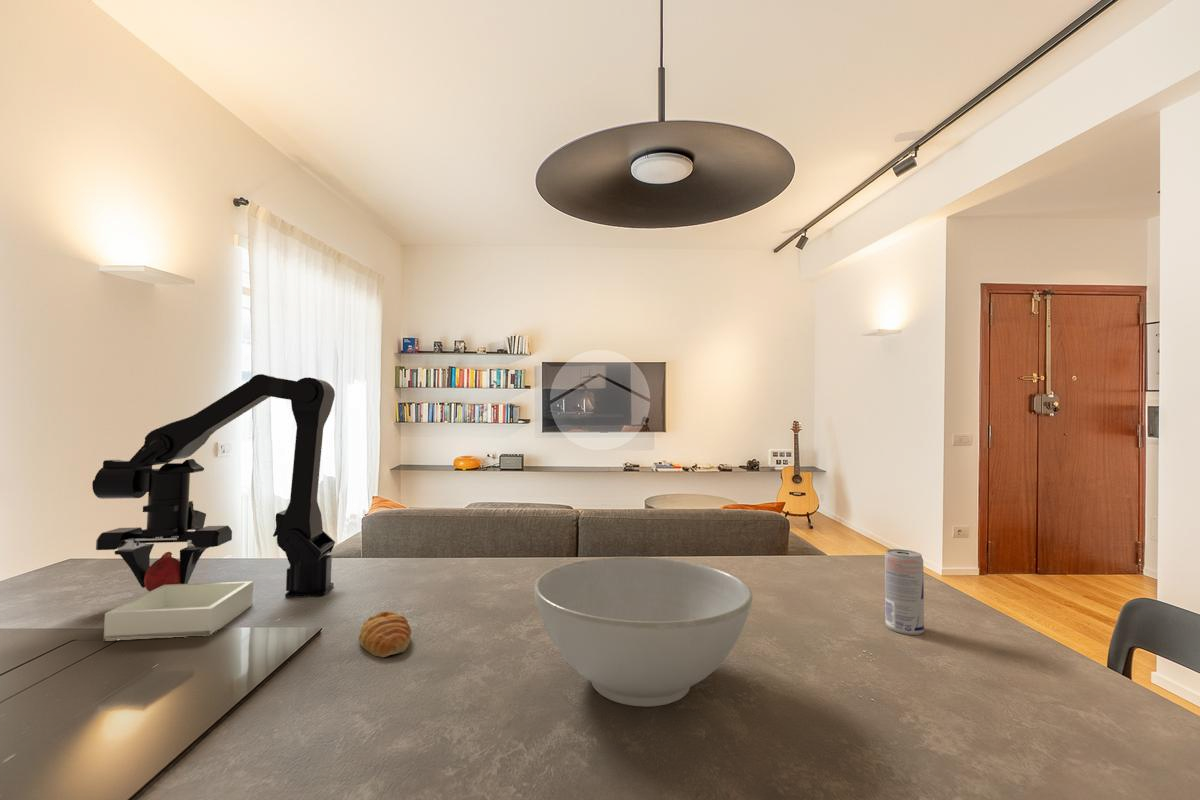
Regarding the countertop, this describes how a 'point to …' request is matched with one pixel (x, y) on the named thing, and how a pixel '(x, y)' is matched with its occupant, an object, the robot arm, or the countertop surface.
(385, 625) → the pastry
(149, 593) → the bin
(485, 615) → the countertop surface
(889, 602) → the energy drink
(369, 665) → the countertop surface
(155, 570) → the onion
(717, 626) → the decorative bowl
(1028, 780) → the countertop surface
